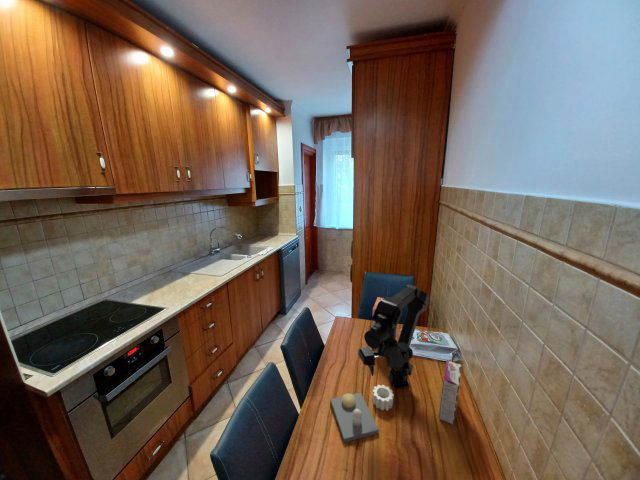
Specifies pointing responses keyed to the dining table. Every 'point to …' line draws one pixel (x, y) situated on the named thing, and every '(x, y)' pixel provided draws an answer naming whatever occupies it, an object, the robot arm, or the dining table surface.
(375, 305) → the cracker box
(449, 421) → the candy bar box
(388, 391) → the planet gear
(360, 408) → the carrier board
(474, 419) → the dining table surface
